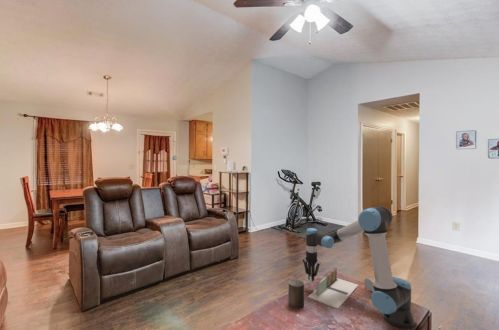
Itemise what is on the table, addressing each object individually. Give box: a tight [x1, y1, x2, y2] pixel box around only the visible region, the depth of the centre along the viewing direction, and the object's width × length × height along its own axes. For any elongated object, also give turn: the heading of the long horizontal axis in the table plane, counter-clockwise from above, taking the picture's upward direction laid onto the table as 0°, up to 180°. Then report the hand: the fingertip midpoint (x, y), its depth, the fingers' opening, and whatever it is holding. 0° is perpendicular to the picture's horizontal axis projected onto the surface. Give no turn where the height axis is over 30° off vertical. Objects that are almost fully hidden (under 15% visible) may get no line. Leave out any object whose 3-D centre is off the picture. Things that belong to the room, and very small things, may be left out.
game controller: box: [363, 277, 375, 293], centre depth 173 cm, size 20×2×8 cm, turn 12°
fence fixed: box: [324, 267, 338, 288], centre depth 186 cm, size 17×2×8 cm, turn 139°
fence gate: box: [315, 276, 327, 295], centre depth 174 cm, size 14×2×8 cm, turn 139°
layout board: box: [307, 278, 359, 310], centre depth 176 cm, size 38×20×1 cm, turn 139°
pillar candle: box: [287, 278, 305, 309], centre depth 160 cm, size 10×10×15 cm
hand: (311, 284), depth 177 cm, fingers closed
